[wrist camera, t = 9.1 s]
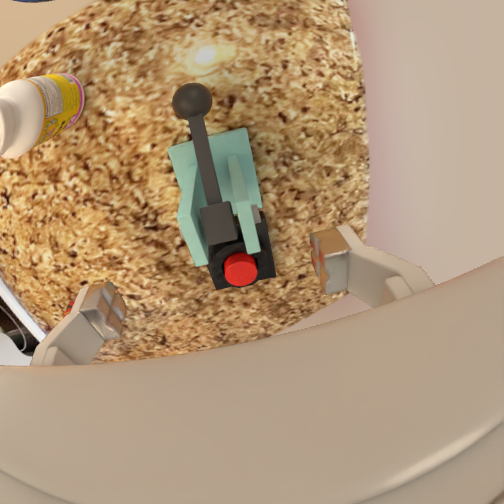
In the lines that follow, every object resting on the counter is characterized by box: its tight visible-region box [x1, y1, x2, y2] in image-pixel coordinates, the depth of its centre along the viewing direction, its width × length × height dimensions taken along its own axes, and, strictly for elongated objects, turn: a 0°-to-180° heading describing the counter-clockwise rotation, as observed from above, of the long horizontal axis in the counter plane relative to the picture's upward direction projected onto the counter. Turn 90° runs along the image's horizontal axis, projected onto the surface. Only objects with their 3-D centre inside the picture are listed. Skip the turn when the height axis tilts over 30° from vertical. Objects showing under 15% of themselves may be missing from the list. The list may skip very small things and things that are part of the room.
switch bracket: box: [168, 127, 263, 267], centre depth 24 cm, size 9×8×12 cm
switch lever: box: [172, 83, 238, 246], centre depth 20 cm, size 13×3×3 cm, turn 12°
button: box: [224, 252, 257, 286], centre depth 32 cm, size 4×4×2 cm
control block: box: [207, 211, 276, 290], centre depth 33 cm, size 9×8×4 cm
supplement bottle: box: [0, 73, 85, 158], centre depth 15 cm, size 7×7×13 cm
